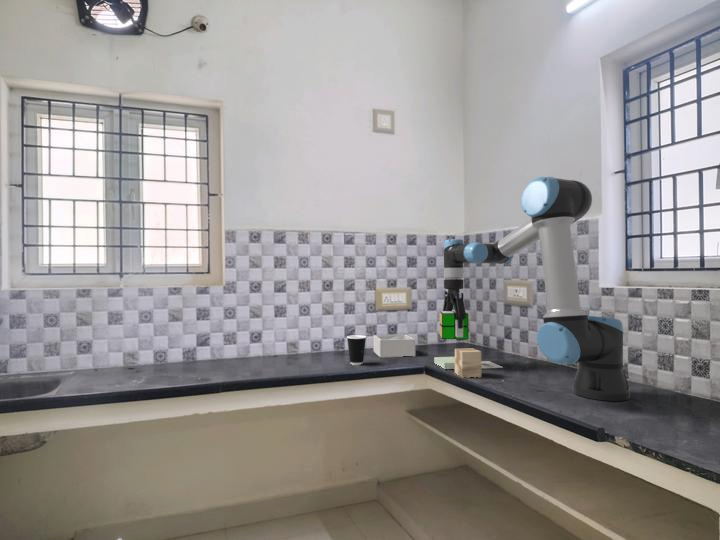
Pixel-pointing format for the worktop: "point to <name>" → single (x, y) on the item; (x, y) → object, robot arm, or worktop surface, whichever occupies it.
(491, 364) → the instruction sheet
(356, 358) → the dixie cup
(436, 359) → the base plate
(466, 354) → the oak block
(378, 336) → the box
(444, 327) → the puzzle cube
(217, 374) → the worktop surface
